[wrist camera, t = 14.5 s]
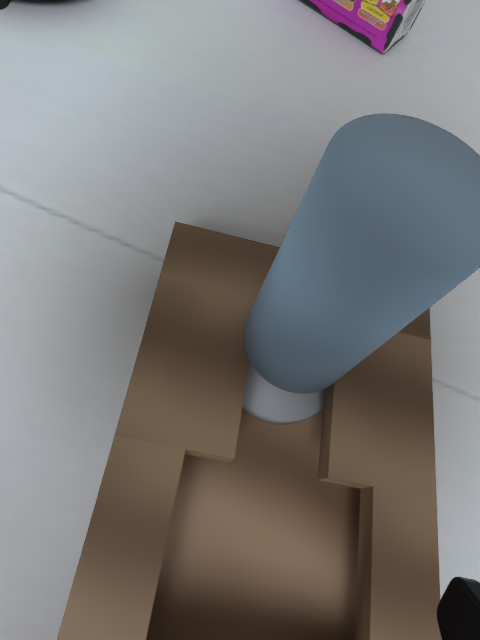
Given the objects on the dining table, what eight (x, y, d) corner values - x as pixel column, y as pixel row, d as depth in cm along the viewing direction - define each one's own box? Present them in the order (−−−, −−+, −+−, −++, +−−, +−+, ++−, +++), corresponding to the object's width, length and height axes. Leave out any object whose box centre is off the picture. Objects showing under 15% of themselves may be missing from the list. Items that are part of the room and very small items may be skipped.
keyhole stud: (353, 402, 22) (579, 263, 11) (243, 442, 20) (372, 324, 9) (306, 299, 24) (451, 88, 13) (202, 326, 22) (261, 108, 11)
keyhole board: (388, 776, 17) (448, 839, 13) (43, 731, 16) (14, 789, 12) (391, 316, 26) (428, 284, 22) (171, 263, 24) (175, 221, 21)
